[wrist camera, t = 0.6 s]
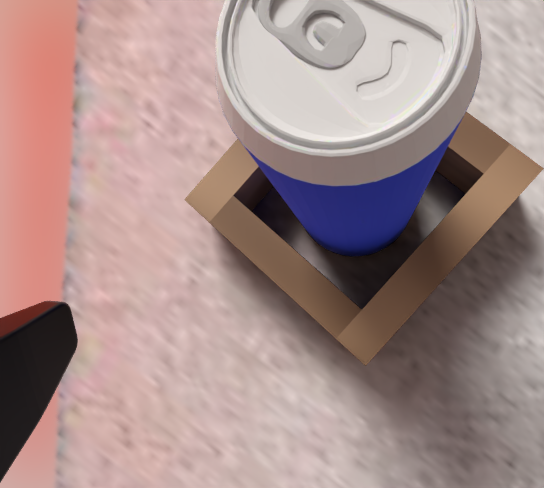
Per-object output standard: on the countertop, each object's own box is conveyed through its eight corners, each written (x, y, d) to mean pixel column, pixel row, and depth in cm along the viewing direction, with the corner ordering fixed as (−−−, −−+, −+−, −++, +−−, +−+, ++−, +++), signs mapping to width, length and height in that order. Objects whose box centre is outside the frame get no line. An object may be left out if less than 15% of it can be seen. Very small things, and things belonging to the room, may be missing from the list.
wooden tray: (365, 357, 23) (365, 365, 19) (209, 214, 25) (184, 199, 21) (516, 189, 22) (543, 168, 19) (345, 60, 24) (342, 20, 21)
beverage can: (435, 193, 23) (562, -8, 8) (362, 280, 23) (360, 233, 8) (347, 128, 24) (320, -152, 9) (278, 211, 24) (145, 63, 9)
